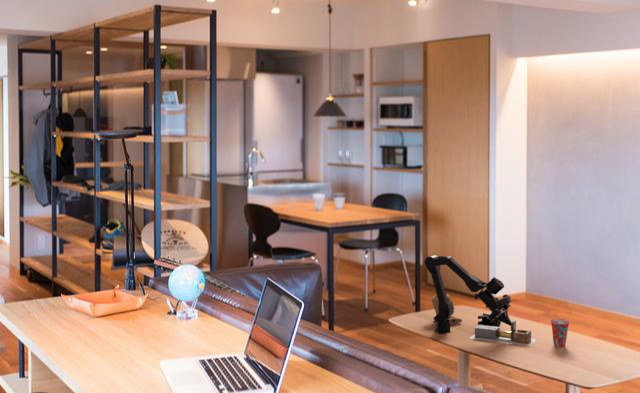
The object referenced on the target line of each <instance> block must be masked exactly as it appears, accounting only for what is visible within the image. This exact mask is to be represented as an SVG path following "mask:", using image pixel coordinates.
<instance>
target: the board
mask: <svg viewBox="0 0 640 393" xmlns="http://www.w3.org/2000/svg"><path fill="white" fill-rule="evenodd" d="M468 339H470V340H479V341H486V342H494V343H502V344H508V345H509V344H511V345H515V346H516V345H517V346H525V347H531V346H532V345H533V344H534V343H535V342H536V341H537V340H538V339H535V338H531V341H530V342H529V343H528V344H523V343H515V342H514V340H513V341H511V339H509V338H501V337H496V340H492V339H485V338H477V337H475V333H474V334H472V335H471V336H470V337H468Z"/></svg>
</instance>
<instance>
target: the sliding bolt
mask: <svg viewBox="0 0 640 393" xmlns="http://www.w3.org/2000/svg"><path fill="white" fill-rule="evenodd" d="M514 332H517V320H515V319H512V320H511V326H510V331H505V330H500V329H499V330H497V331H496V337H501V338H509V339H511V341H513V340H514Z"/></svg>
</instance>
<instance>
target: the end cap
mask: <svg viewBox="0 0 640 393" xmlns="http://www.w3.org/2000/svg"><path fill="white" fill-rule="evenodd" d="M489 315H490V314H488V313H482V315H481V314H480V315H478V316H477V319H478V321H477V326H478V325H485V326H494V327H499V328H500V327H501V324H502V322H501V321H498V320H496V318H497V317H496V318H494V320H492V321H490V320H489Z"/></svg>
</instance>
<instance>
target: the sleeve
mask: <svg viewBox="0 0 640 393" xmlns="http://www.w3.org/2000/svg"><path fill="white" fill-rule="evenodd" d="M497 330H499V331H500V327H494V326H485V325H478V324H477V325H476V326H475V327H474V334H475V337H477V338H485V339H492V340H496V331H497Z"/></svg>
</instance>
